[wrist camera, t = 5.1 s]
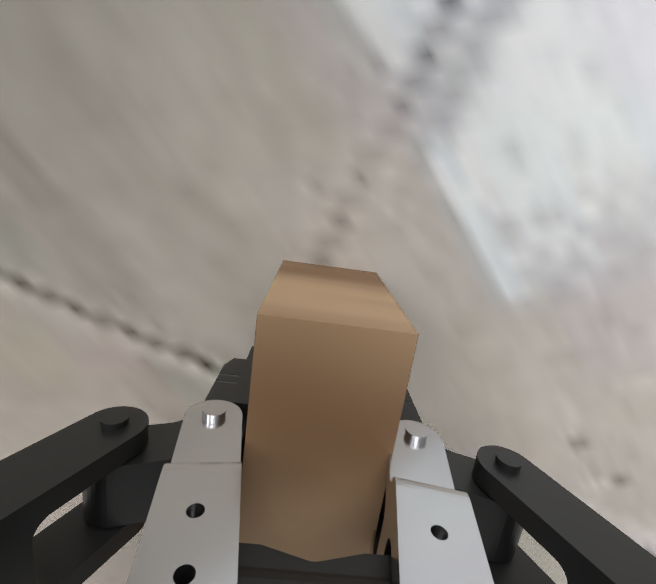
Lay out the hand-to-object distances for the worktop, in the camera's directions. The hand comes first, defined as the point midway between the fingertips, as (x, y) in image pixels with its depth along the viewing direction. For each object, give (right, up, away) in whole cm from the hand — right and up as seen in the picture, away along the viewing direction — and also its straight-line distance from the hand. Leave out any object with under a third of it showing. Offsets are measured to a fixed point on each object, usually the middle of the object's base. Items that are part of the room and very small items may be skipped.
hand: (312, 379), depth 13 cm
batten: (-1, -5, +2) cm, 6 cm away
